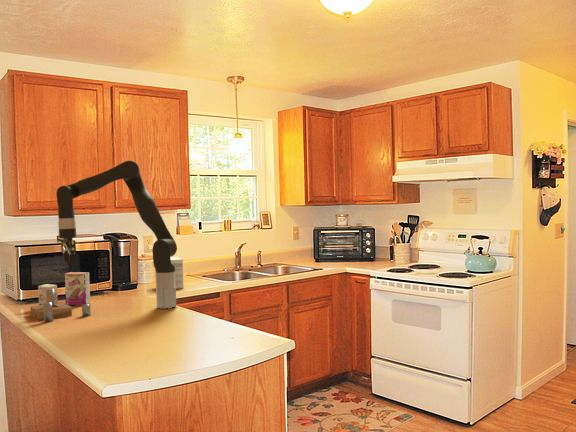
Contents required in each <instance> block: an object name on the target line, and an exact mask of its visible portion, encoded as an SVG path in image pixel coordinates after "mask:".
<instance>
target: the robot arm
mask: <svg viewBox="0 0 576 432" xmlns="http://www.w3.org/2000/svg"><path fill="white" fill-rule="evenodd" d="M119 180H123V181H124V183H125V184H126V187H128V190H129V191H130V194H131V196H132V199H133V203H134V205H135V208H136V211H137V213H138V215H139V217H140V219H141V221H143V223H144V224H145V225H146V226H147V227H148V228H149V229H150V230H151V231H152V233H153V234H154V236H155V238H156V240H155V241H154V243H153V245H152V261H153V262H152V263H153V267H154V270H155V296H156V298H155V299H156V301H155V302H156V309H159V308H160V309H161V310H167V309H166V308H168V309H173V308H172V307H175V308H177V289H176V286H175V266H174V265H173V264H172V263H171V259H170V258H172V257H174V256H175V255H176V254H177V251H178V245H177V243H176V240H175V239H174V237H173V236H172V234H171V232H170V231H169V229H168V228H167V225H166V223H165V220H164V219H163V217H162V215H161V213H160V210H159V208H158V206H157V204H156V201H155V199H154V198H153V197H152V195H151V194H150V192H149V191H148V189H147V188H146V186H145V183H144V181H143V179H142V176H141V173H140V167H139V164H138V163H137V162H136V161H134V160H130V159H129V160H125V161H122V162H121V163H120V164H117V165H116V166H114V167H112V168H110V169H108V170H106V171H102V172H99V173H98V174H95V175H92V176H89V177H86V178H83V179H80V180H77V181H76V182H74V183H70V184H68V185H60V186H59V187H58V188H57V189H56V192H55V194H56V201H57V208H58V209H57V211H58V212H57V214H58V222H57V224H58V226H57V227H58V238H59V239H61V240H60V245H61V249H60V250H61V253H62V254H63V262H65V263H67V262H69V263H75V262H76V260H75V259H76V258H75V257H76V256H75V255H76V254H77V247H76V245H77V244H76V240H75V239H73V238H76V237H77V226H76V225H77V224H76V218H75V208H74V200H73V199H76V198H79V197H81V196H84V195H87V194H90V193H93V192H96V191H98V190H100V189H102V188H104V187H105V186H107V185H109V184H111V183H114V182H116V181H119Z"/></svg>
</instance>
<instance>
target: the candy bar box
mask: <svg viewBox="0 0 576 432" xmlns="http://www.w3.org/2000/svg"><path fill="white" fill-rule="evenodd" d="M90 283H91V282H90V272H81V271H78V272H71V271H70V272H66V273H64V292H65V294H64V296H65V298H64V299H65V302H64V303H65V304H67V305H69V306H82V305H84V304H90V305H91V287H90Z"/></svg>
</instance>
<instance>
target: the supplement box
mask: <svg viewBox="0 0 576 432" xmlns="http://www.w3.org/2000/svg"><path fill="white" fill-rule="evenodd" d="M170 259H171V263H172V264H173V265H174V266H175V286H176V290H178V289H184V263H183V262H184V259H183V258H181V257H179V256H178V257H170Z"/></svg>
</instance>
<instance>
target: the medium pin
mask: <svg viewBox="0 0 576 432" xmlns="http://www.w3.org/2000/svg"><path fill="white" fill-rule="evenodd" d="M43 312H44V320H43V321H44V323H50V322H51V323H52V322H54V318H53V310H52V302H47V303H43Z"/></svg>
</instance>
